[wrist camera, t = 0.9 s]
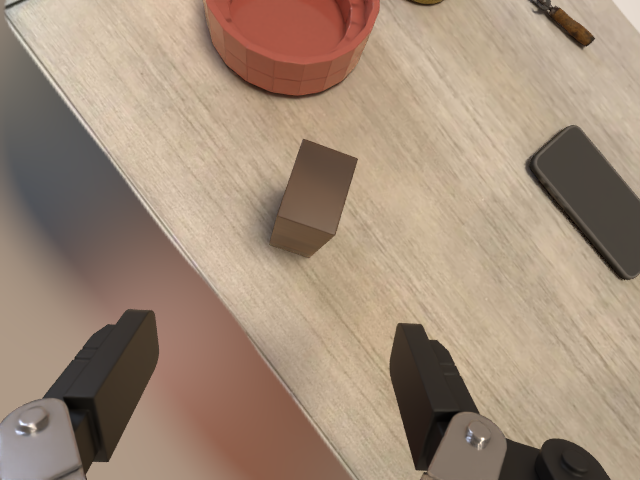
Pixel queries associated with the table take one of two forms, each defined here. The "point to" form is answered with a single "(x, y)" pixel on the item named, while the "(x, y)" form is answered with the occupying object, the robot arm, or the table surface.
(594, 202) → the smartphone
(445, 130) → the table surface
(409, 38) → the table surface
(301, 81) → the bowl
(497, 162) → the table surface
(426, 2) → the brass weight
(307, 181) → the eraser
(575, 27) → the can opener
